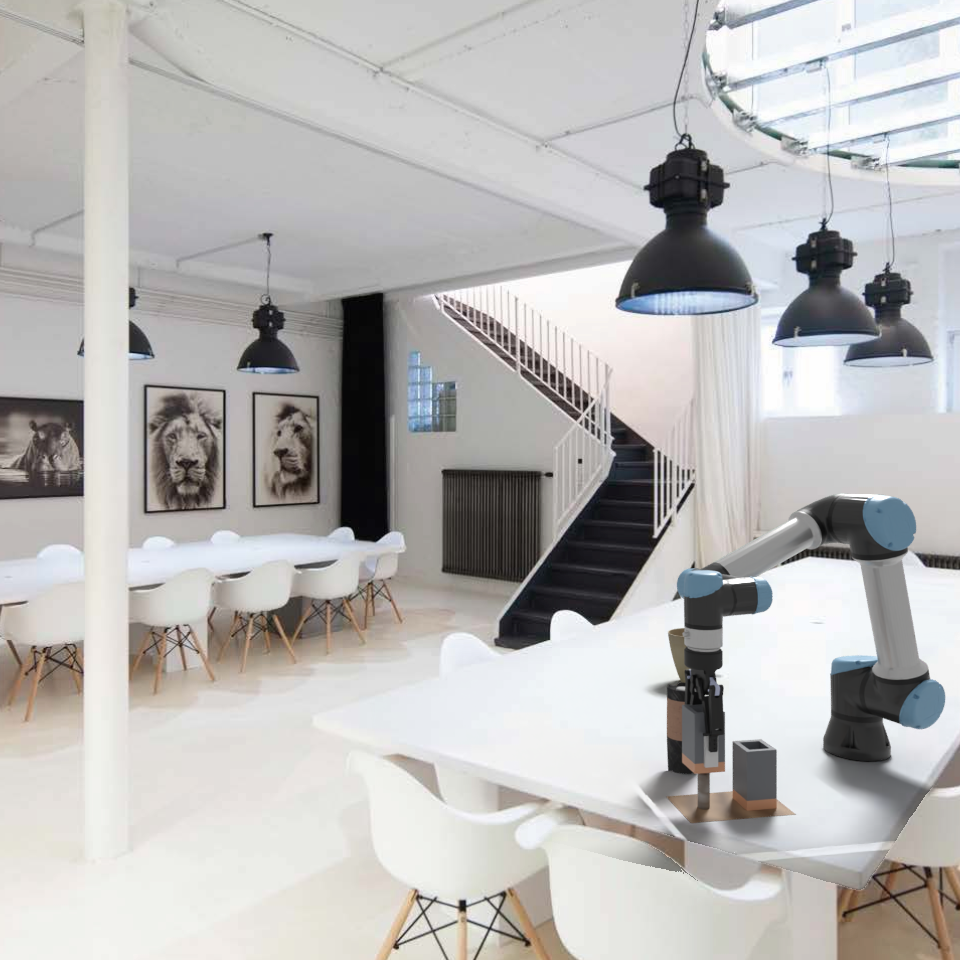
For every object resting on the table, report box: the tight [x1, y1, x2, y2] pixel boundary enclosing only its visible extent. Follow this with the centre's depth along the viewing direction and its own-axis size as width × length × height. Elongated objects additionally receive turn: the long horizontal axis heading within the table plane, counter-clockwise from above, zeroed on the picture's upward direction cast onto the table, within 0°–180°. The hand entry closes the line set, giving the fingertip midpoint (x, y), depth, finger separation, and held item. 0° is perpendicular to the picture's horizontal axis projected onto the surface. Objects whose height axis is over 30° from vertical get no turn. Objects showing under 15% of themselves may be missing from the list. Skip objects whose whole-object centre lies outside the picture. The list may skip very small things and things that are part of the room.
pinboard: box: [665, 773, 797, 824], centre depth 172 cm, size 22×13×8 cm, turn 99°
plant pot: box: [667, 627, 690, 683], centre depth 270 cm, size 15×15×16 cm
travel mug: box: [666, 681, 695, 775], centre depth 193 cm, size 8×8×20 cm
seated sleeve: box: [732, 738, 778, 811], centre depth 173 cm, size 6×6×12 cm
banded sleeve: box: [682, 704, 726, 775], centre depth 171 cm, size 6×6×12 cm
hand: (703, 760), depth 171 cm, fingers closed on banded sleeve, 6 cm apart
